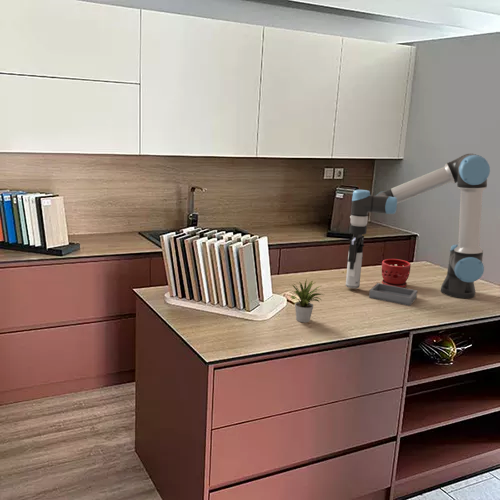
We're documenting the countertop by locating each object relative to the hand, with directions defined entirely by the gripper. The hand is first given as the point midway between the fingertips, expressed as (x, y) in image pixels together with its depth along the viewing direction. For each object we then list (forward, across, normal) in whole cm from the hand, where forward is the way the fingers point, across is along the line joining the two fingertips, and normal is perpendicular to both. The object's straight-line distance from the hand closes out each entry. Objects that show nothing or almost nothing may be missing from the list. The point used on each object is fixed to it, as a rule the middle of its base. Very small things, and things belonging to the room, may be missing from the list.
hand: (353, 274), depth 257 cm
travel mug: (+6, 0, 0) cm, 6 cm away
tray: (+8, 0, +19) cm, 20 cm away
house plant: (+7, +51, -4) cm, 52 cm away
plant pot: (+8, -18, +15) cm, 24 cm away
